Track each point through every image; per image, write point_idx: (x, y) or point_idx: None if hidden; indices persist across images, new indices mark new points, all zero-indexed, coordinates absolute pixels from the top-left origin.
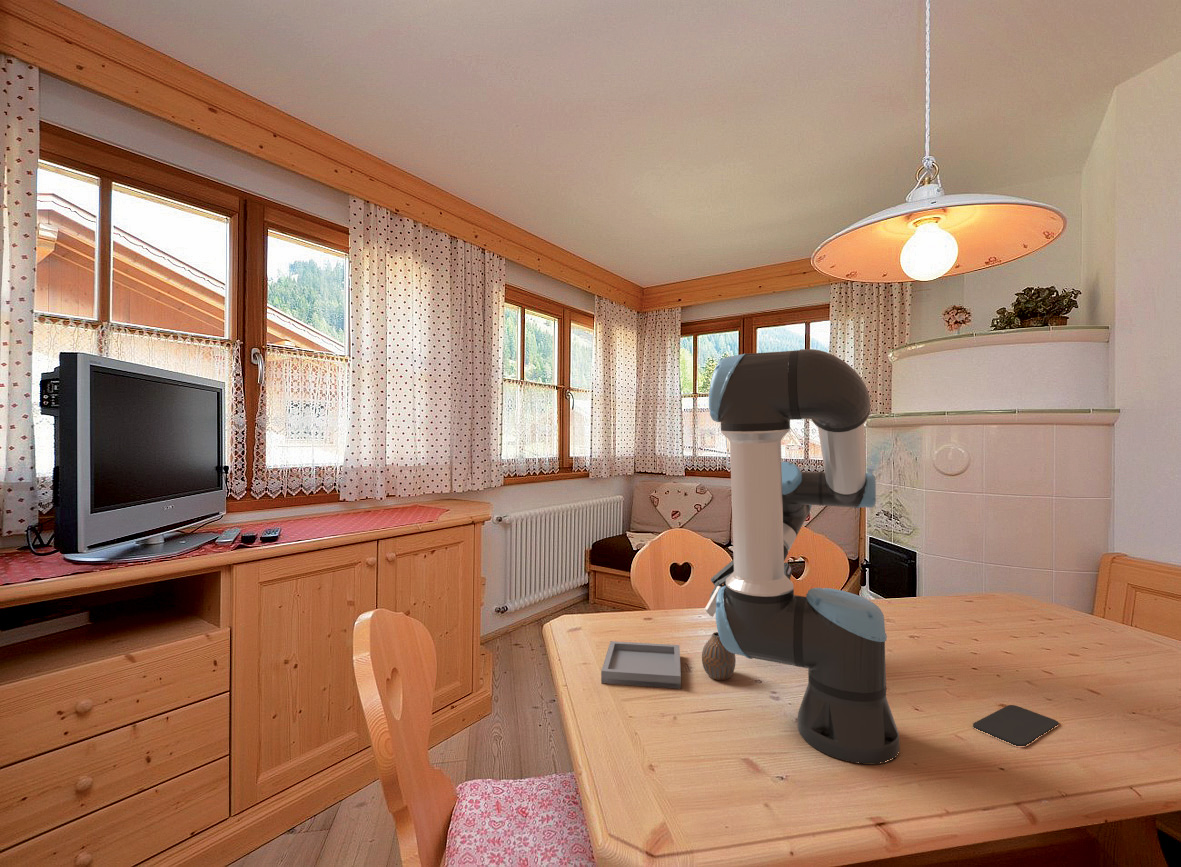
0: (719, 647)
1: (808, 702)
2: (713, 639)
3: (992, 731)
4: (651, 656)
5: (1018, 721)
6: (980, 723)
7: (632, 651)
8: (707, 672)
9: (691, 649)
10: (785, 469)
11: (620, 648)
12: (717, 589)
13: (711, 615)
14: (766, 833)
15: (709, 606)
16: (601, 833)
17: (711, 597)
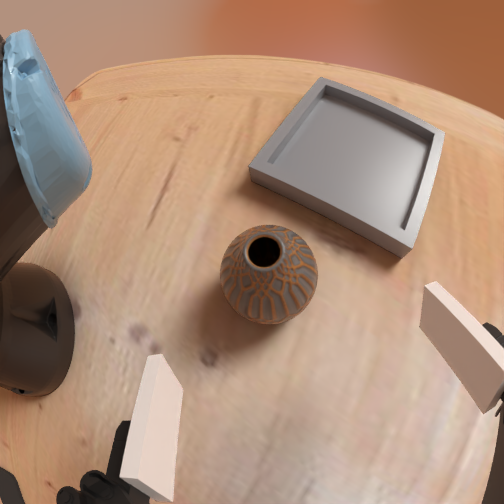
0: (234, 244)
1: (14, 266)
2: (258, 232)
3: (3, 475)
4: (393, 183)
5: None
6: (14, 486)
7: (421, 163)
8: (267, 247)
9: None
10: None
11: (429, 146)
12: (497, 355)
13: (421, 318)
14: None
15: (435, 298)
16: (102, 70)
17: (472, 317)
